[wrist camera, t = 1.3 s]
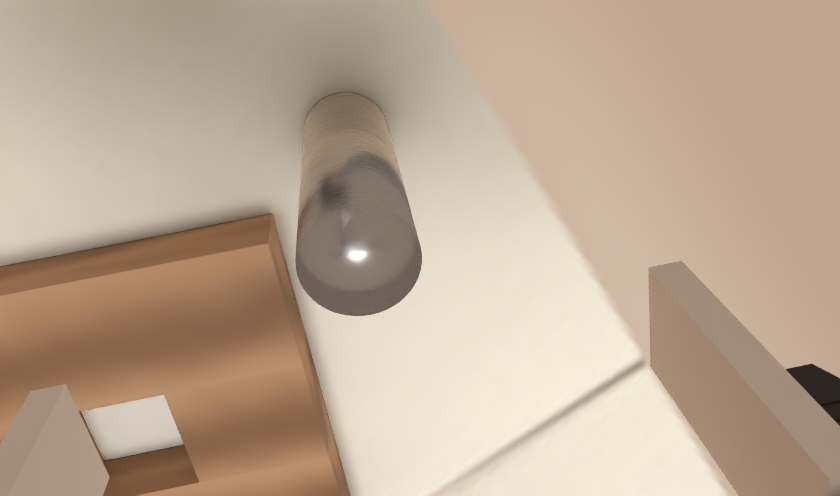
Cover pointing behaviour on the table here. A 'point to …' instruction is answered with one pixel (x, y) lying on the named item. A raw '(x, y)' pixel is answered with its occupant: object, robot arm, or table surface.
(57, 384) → the socket board
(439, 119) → the table surface
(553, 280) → the table surface
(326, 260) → the peg
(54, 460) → the robot arm
